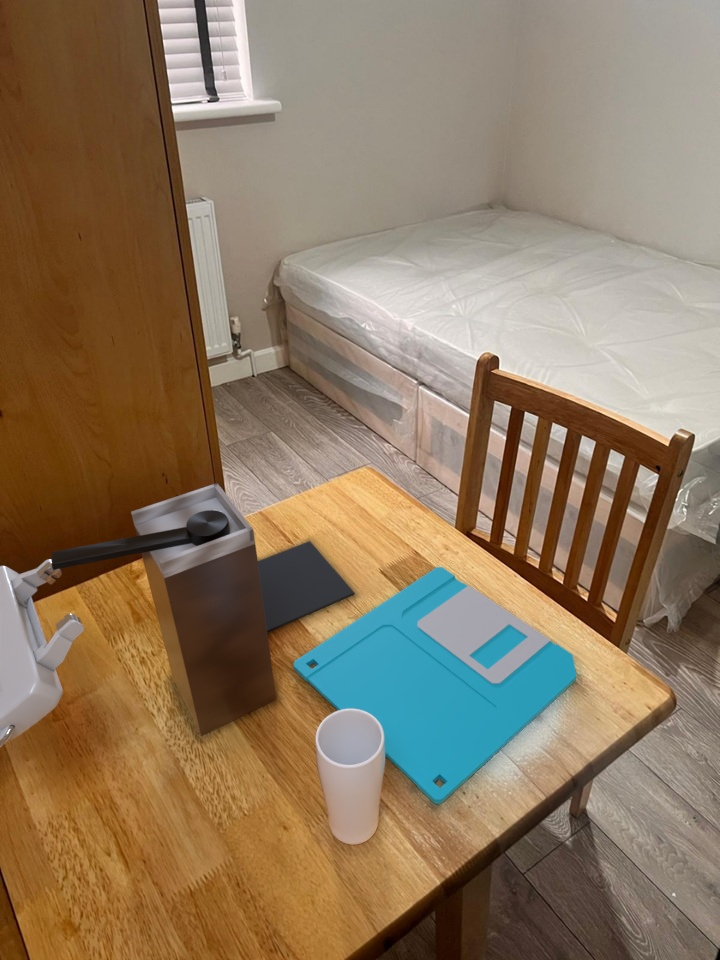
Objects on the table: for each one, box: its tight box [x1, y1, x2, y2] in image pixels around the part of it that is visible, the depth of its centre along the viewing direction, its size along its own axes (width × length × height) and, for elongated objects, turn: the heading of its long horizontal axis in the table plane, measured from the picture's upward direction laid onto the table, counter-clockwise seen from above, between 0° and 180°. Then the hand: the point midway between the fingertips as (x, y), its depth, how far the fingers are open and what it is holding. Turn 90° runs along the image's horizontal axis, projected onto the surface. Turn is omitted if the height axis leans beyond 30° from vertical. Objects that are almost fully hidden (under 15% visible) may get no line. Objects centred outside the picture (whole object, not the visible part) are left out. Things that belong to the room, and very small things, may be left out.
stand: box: [130, 482, 277, 737], centre depth 85 cm, size 10×10×28 cm
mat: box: [258, 540, 355, 633], centre depth 107 cm, size 24×14×1 cm, turn 121°
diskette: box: [293, 566, 578, 805], centre depth 95 cm, size 26×28×1 cm
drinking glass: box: [314, 709, 386, 846], centre depth 74 cm, size 7×7×15 cm
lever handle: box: [51, 510, 230, 570], centre depth 76 cm, size 18×4×2 cm, turn 106°
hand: (66, 591), depth 74 cm, fingers open, 8 cm apart
